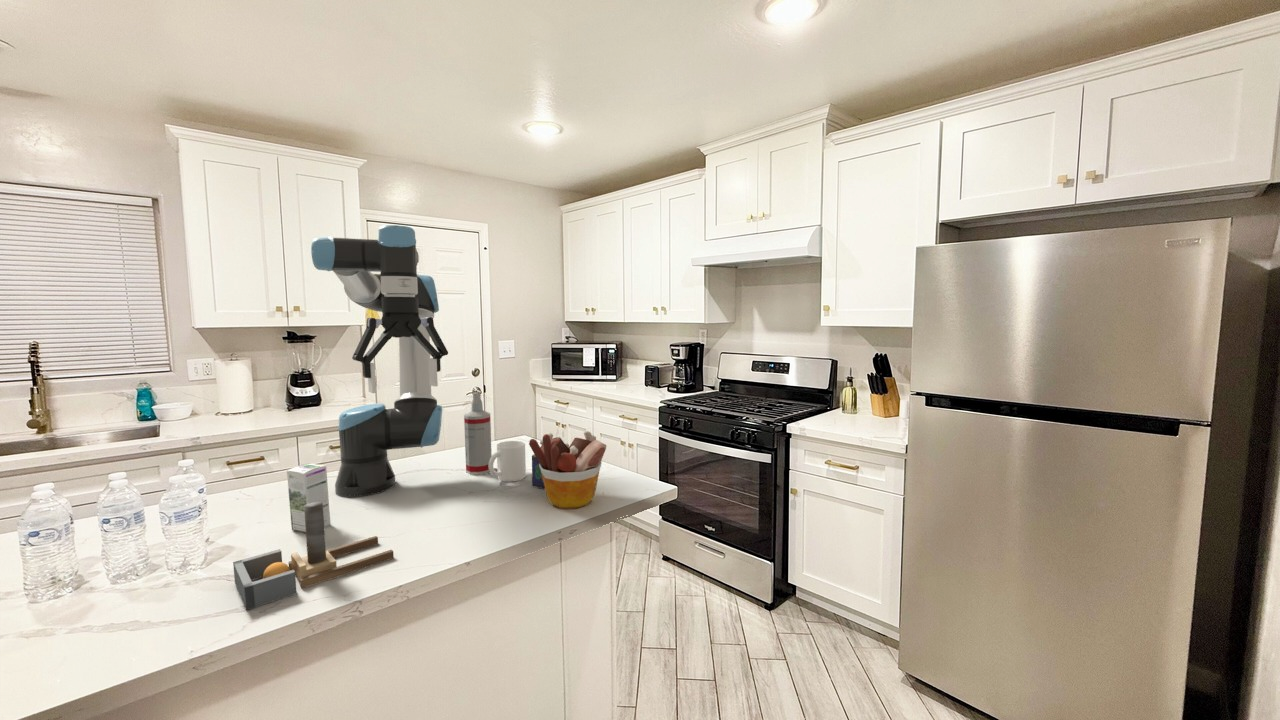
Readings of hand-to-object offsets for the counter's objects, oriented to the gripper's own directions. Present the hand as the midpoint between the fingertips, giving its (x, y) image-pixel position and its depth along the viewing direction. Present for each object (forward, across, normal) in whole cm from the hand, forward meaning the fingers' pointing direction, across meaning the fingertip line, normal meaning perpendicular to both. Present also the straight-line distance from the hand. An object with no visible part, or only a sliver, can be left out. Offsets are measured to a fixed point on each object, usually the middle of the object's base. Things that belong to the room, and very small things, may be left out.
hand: (404, 389), depth 117 cm
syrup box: (+32, -18, +14) cm, 39 cm away
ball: (+30, -28, -10) cm, 42 cm away
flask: (+33, +37, -1) cm, 49 cm away
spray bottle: (+33, +30, +25) cm, 51 cm away
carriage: (+32, -21, -10) cm, 40 cm away
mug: (+33, +33, +12) cm, 48 cm away
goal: (+32, -29, -10) cm, 45 cm away
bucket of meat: (+32, +35, -16) cm, 50 cm away
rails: (+32, -17, -10) cm, 38 cm away
